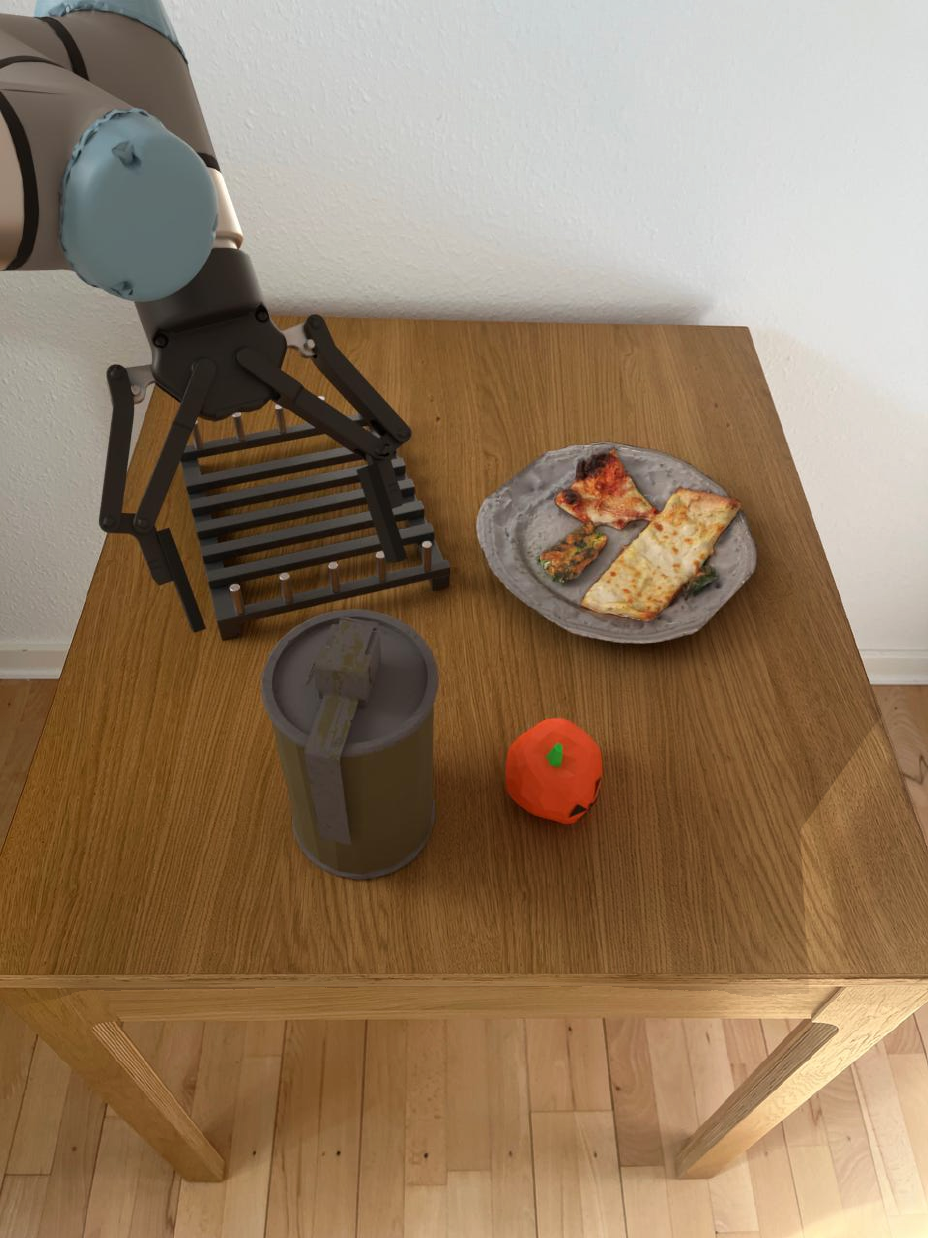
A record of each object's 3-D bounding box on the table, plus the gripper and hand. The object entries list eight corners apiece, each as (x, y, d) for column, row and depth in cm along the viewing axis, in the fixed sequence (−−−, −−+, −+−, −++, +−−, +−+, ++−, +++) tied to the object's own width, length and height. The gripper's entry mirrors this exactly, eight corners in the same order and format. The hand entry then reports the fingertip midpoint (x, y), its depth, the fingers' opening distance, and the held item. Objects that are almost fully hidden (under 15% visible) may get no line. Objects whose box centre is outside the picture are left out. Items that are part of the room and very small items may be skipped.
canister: (317, 739, 73) (288, 566, 57) (448, 765, 72) (456, 597, 56) (270, 869, 66) (224, 714, 50) (415, 900, 65) (413, 751, 49)
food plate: (593, 426, 97) (598, 398, 94) (793, 538, 88) (805, 512, 85) (429, 556, 85) (430, 529, 82) (642, 703, 76) (650, 678, 73)
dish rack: (222, 640, 78) (210, 597, 74) (182, 467, 91) (170, 422, 87) (450, 586, 83) (451, 543, 78) (381, 429, 96) (379, 384, 91)
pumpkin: (601, 749, 73) (615, 703, 68) (593, 843, 68) (607, 801, 63) (510, 733, 74) (517, 687, 69) (495, 826, 69) (501, 783, 64)
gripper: (361, 240, 65) (453, 535, 68) (-19, 328, 57) (107, 655, 61) (391, 201, 58) (492, 532, 61) (-38, 295, 50) (106, 668, 54)
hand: (301, 594), depth 61 cm, fingers open, 13 cm apart
